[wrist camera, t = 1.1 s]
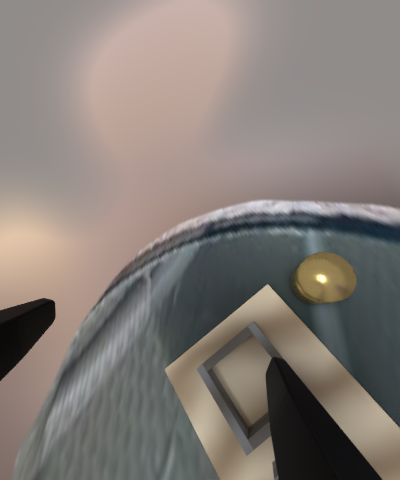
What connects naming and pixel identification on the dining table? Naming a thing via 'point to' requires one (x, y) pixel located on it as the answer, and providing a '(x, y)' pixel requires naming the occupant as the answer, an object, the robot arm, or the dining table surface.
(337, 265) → the cylinder
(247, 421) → the board
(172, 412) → the dining table surface
